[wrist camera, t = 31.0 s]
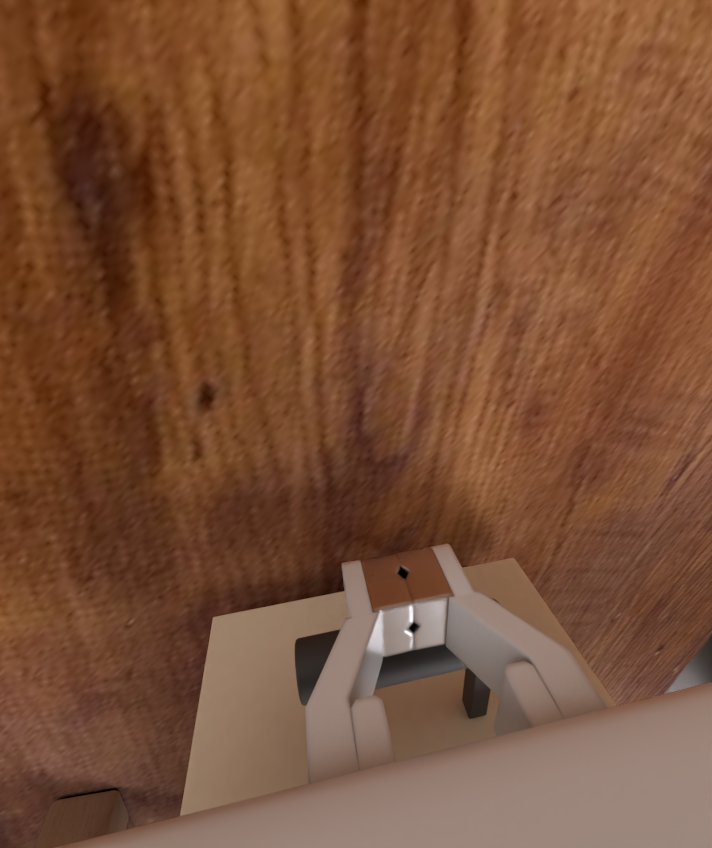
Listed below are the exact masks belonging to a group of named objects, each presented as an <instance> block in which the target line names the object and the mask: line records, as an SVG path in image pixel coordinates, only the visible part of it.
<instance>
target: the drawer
mask: <svg viewBox="0 0 712 848" xmlns="http://www.w3.org/2000/svg"><path fill="white" fill-rule="evenodd" d="M463 570H464V572H465V574H466V576H467V578H468V580H469V581H470V583H471V585H472V587H473V589H474V591H475V592H478V591H481V592H483V593H484V594H486V595H487V596H489V597H490V598H492V599H493V600H495V601H496V602H498V603H499V604H501V605H502V606H504V607H505V608H507V609H508V610H510V611H511V612H513V613H514V614H516V615H517V616H519V617H520V618H522V619H523V620H525V621H526V622H528V623H529V624H531V625H532V626H534V627H535V628H537V629H538V630H540V631H541V632H543V633H544V634H546V635H547V636H549V637H550V638H552V639H553V640H555V641H556V642H558V643H559V644H561V645H563V646H564V647H566V648H567V649H568V650H569V651H570V653H571V654H572V656H573V657H574V659H575V660H576V662H577V663H578V665H579V666H580V667H581V669H582V670H583V672H584V673H585V675H586V676H587V678H588V679H589V681H590V682H591V684H592V685H593V687H594V688H595V690H596V691H597V693H598V694H599V696H600V697H601V699H602V700H603V702H604V703H605V705H606V706H607V708H611V707H615V706H617V705H616V704H615V703H614V701H613V700H612V698H611V697H610V695H609V694H608V692H607V691H606V690H605V688H604V687H603V685H602V684H601V682H600V681H599V679H598V678H597V677H596V675H595V674H594V672H593V671H592V669H591V668H590V666H589V665H588V664H587V662H586V661H585V659H584V658H583V656H582V655H581V654H580V652H579V651H578V649H577V648H576V646H575V645H574V643H573V642H572V641H571V639H570V638H569V636H568V635H567V633H566V632H565V630H564V629H563V628H562V626H561V625H560V623H559V622H558V620H557V619H556V617H555V616H554V615H553V613H552V612H551V610H550V609H549V607H548V606H547V605H546V603H545V602H544V600H543V599H542V597H541V596H540V594H539V593H538V592H537V590H536V589H535V587H534V586H533V584H532V583H531V581H530V580H529V579H528V577H527V576H526V574H525V573H524V571H523V570H522V568H521V567H520V566H519V564H518V563H517V561H516V560H515V558H509V559H504V560H499V561H494V562H489V563H484V564H479V565H474V566H469V567H464V568H463ZM346 618H348V613H347V606H346V598H345V591H342V592H337V593H332V594H327V595H322V596H317V597H312V598H307V599H302V600H297V601H292V602H287V603H282V604H277V605H272V606H267V607H262V608H257V609H251V610H246V611H241V612H236V613H231V614H226V615H221V616H216V617H213V621H212V627H211V633H210V639H209V645H208V651H207V657H206V663H205V669H204V675H203V681H202V687H201V693H200V699H199V705H198V711H197V717H196V723H195V729H194V735H193V741H192V747H191V753H190V759H189V765H188V771H187V777H186V783H185V789H184V795H183V801H182V807H181V813H180V816H182V815H186V814H190V813H194V812H198V811H202V810H206V809H210V808H214V807H218V806H222V805H226V804H230V803H234V802H238V801H242V800H246V799H250V798H254V797H258V796H262V795H266V794H270V793H274V792H278V791H282V790H286V789H289V788H293V787H297V786H301V785H305V784H309V780H308V759H307V737H306V716H305V708H306V706H307V703H308V701H309V699H310V697H311V695H312V692H313V690H314V688H315V686H316V683H317V681H318V679H319V677H320V674H321V672H322V670H323V668H324V665H325V663H326V661H327V659H328V656H329V654H330V652H331V650H332V647H333V645H334V643H335V641H336V638H337V636H338V634H339V632H340V630H341V627H342V625H343V623H344V621H345V619H346ZM382 659H383V661H382V664H381V668H380V672H379V675H378V679H377V682H376V686H375V689H374V693H373V695H375V696H377V697H379V698H380V699H382V700H383V705H384V709H385V714H386V718H387V723H388V727H389V731H390V736H391V740H392V745H393V749H394V754H395V758H396V761H400V760H404V759H408V758H412V757H416V756H420V755H424V754H428V753H432V752H436V751H440V750H444V749H448V748H452V747H456V746H460V745H464V744H468V743H472V742H476V741H480V740H484V739H488V738H492V737H496V733H495V731H494V729H493V728H494V723H495V718H496V714H497V709H498V704H499V699H500V698H499V697H498V696H497V695H496V694H495V693H494V692H493V691H492V690H491V689H490V688H489V687H488V686H486V685H485V684H484V683H483V682H482V681H481V680H480V679H479V678H478V677H477V676H476V675H475V674H474V673H473V672H472V671H471V670H470V669H469V668H468V667H467V666H466V665H465V664H464V663H463V662H462V661H461V660H460V659H459V658H458V657H457V656H455V655H454V654H453V653H452V652H451V651H450V650H449V649H448V648H447V647H446V644H444V645H439V646H434V647H428V648H423V649H418V650H413V651H409V652H405V653H401V654H397V655H393V656H389V657H385V658H382Z"/></svg>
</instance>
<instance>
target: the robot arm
mask: <svg viewBox="0 0 712 848" xmlns="http://www.w3.org/2000/svg"><path fill="white" fill-rule="evenodd" d="M342 574H343V582H344V591H345V598H346V606H347V613H348V618H346V619H345V621H344V623H343V625H342V627H341V630H340V632H339V634H338V636H337V638H336V641H335V643H334V645H333V647H332V650H331V652H330V654H329V656H328V659H327V661H326V663H325V665H324V668H323V670H322V672H321V674H320V677H319V679H318V681H317V683H316V686H315V688H314V690H313V692H312V695H311V697H310V699H309V701H308V703H307V706H306V708H305V716H306V737H307V759H308V780H309V784H305V785H301V786H297V787H293V788H289V789H286V790H282V791H278V792H274V793H270V794H266V795H262V796H258V797H254V798H250V799H246V800H242V801H238V802H234V803H230V804H226V805H222V806H218V807H214V808H210V809H206V810H202V811H198V812H194V813H190V814H186V815H182V816H179V817H175V818H171V819H167V820H163V821H159V822H155V823H151V824H147V825H143V826H139V827H135V828H131V829H127V830H123V831H119V832H115V833H111V834H107V835H103V836H99V837H95V838H91V839H87V840H83V841H79V842H75V843H72V844H68V845H64V846H60V847H56V848H712V682H710V683H706V684H702V685H698V686H695V687H691V688H687V689H683V690H679V691H675V692H671V693H667V694H663V695H659V696H655V697H651V698H647V699H643V700H639V701H635V702H631V703H627V704H623V705H619V706H615V707H611V708H607V706H606V705H605V703H604V702H603V700H602V699H601V697H600V696H599V694H598V693H597V691H596V690H595V688H594V687H593V685H592V684H591V682H590V681H589V679H588V678H587V676H586V675H585V673H584V672H583V670H582V669H581V667H580V666H579V665H578V663H577V662H576V660H575V659H574V657H573V656H572V654H571V653H570V651H569V650H568V649H567V648H566V647H564V646H563V645H561V644H559V643H558V642H556V641H555V640H553V639H552V638H550V637H549V636H547V635H546V634H544V633H543V632H541V631H540V630H538V629H537V628H535V627H534V626H532V625H531V624H529V623H528V622H526V621H525V620H523V619H522V618H520V617H519V616H517V615H516V614H514V613H513V612H511V611H510V610H508V609H507V608H505V607H504V606H502V605H501V604H499V603H498V602H496V601H495V600H493V599H492V598H490V597H489V596H487V595H486V594H484V593H483V592H481V591H478V592H475V591H474V589H473V587H472V585H471V583H470V581H469V580H468V578H467V576H466V574H465V572H464V570H463V568H462V566H461V565H460V563H459V561H458V559H457V557H456V555H455V553H454V551H453V550H452V548H451V546H450V545H449V544H442V545H437V546H432V547H426V548H421V549H416V550H411V551H406V552H401V553H396V554H393V555H386V556H380V557H374V558H368V559H361V560H357V561H351V562H345V563H342ZM444 644H446V647H447V648H448V649H449V650H450V651H451V652H452V653H453V654H454V655H455V656H457V657H458V658H459V659H460V660H461V661H462V662H463V663H464V664H465V665H466V666H467V667H468V668H469V669H470V670H471V671H472V672H473V673H474V674H475V675H476V676H477V677H478V678H479V679H480V680H481V681H482V682H483V683H484V684H485V685H486V686H488V687H489V688H490V689H491V690H492V691H493V692H494V693H495V694H496V695H497V696H498V697H499V698H500V699H499V704H498V709H497V714H496V718H495V723H494V728H493V729H494V731H495V733H496V737H492V738H488V739H484V740H480V741H476V742H472V743H468V744H464V745H460V746H456V747H452V748H448V749H444V750H440V751H436V752H432V753H428V754H424V755H420V756H416V757H412V758H408V759H404V760H400V761H396V758H395V754H394V749H393V745H392V740H391V736H390V731H389V727H388V723H387V718H386V714H385V709H384V705H383V700H382V699H380V698H379V697H377V696H375V695H373V693H374V689H375V686H376V682H377V679H378V675H379V672H380V668H381V664H382V661H383V659H382V658H385V657H389V656H393V655H397V654H401V653H405V652H409V651H413V650H418V649H423V648H428V647H434V646H439V645H444Z"/></svg>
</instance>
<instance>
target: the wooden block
mask: <svg viewBox="0 0 712 848" xmlns="http://www.w3.org/2000/svg"><path fill="white" fill-rule="evenodd" d="M131 828H134V827H133V825H132V822H131V820H130V819H129V817H128V811H127V809H126V807H125V804H124V802H123V799H122V797H121V795H120V792H119V791H116V790H113V791H107V792H101V793H95V794H89V795H83V796H77V797H72V798H66V799H60V800H56V801H54V802H53V803H52V804H51V806H50V808H49V810H48V813H47V815H46V818H45V821H44V823H43V826H42V828H41V831H40V833H39V836H38V839H37V841H36V844H35V846H34V848H56V847H60V846H64V845H68V844H72V843H75V842H79V841H83V840H87V839H91V838H95V837H99V836H103V835H107V834H111V833H115V832H119V831H123V830H127V829H131Z"/></svg>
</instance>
